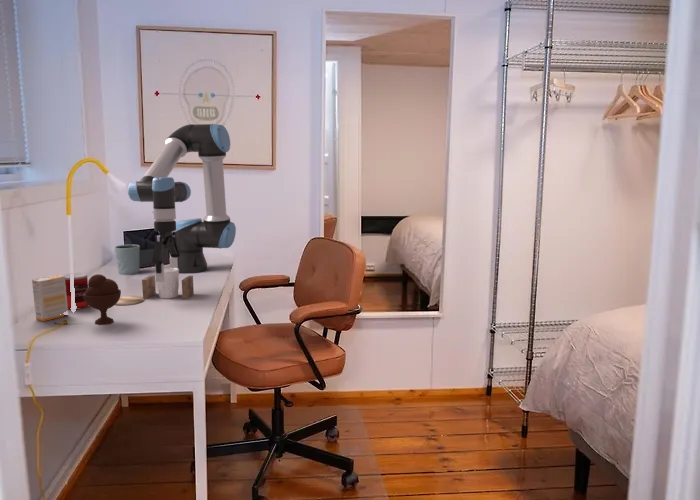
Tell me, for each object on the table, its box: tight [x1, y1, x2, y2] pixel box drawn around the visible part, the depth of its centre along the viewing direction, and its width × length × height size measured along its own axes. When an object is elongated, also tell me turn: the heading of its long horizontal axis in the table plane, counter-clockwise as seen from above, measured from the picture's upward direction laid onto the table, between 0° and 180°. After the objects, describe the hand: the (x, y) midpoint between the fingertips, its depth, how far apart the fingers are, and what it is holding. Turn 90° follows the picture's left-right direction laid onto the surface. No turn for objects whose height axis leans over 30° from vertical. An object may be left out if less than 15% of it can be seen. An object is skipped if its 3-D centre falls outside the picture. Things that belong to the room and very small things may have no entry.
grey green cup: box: [114, 244, 141, 276], centre depth 243 cm, size 10×10×12 cm
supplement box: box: [31, 274, 69, 322], centre depth 175 cm, size 8×5×13 cm, turn 145°
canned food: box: [62, 272, 90, 310], centre depth 187 cm, size 8×8×11 cm
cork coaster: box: [114, 295, 145, 306], centre depth 196 cm, size 11×11×1 cm
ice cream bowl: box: [83, 273, 122, 326], centre depth 170 cm, size 11×11×15 cm
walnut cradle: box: [141, 274, 195, 300], centre depth 202 cm, size 8×16×7 cm, turn 87°
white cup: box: [156, 267, 180, 299], centre depth 202 cm, size 8×8×10 cm
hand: (167, 278), depth 202 cm, fingers open, 13 cm apart
